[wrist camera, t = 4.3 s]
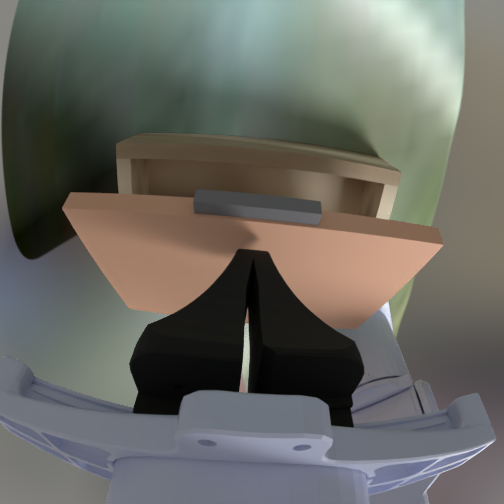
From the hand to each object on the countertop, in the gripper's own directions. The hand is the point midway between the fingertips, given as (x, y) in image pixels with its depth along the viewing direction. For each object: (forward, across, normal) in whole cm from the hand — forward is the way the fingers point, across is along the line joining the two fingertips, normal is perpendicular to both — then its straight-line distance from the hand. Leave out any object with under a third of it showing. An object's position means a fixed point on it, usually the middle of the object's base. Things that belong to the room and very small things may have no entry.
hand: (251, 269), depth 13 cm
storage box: (+10, 0, +2) cm, 11 cm away
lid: (+4, 0, +3) cm, 4 cm away
